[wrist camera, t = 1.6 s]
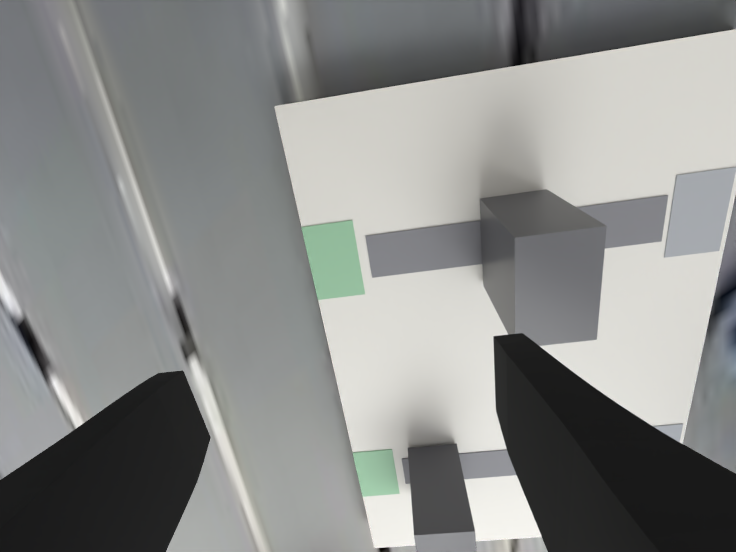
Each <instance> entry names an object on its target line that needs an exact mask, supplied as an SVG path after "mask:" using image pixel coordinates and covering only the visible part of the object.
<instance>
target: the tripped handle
mask: <svg viewBox="0 0 736 552" xmlns="http://www.w3.org/2000/svg"><path fill="white" fill-rule="evenodd" d="M480 219H481V243H482V266H483V286H484V288H485V290H486V292H487V294H488V296H489V298H490V300H491V302H492V304H493V306H494V308H495V310H496V312H497V314H498V315H499V317H500V319H501V321H502V323H503V325H504V327H505V329H506V331H507V333H508V335H509V334H518V333H523V334H525V335H526V336H527V337H528V338H530V339H531V340H532V341H534V342H535V343H536V344H537V345H539V346H543V345H552V344H562V343H571V342H580V341H590V340H597V332H598V321H599V309H600V298H601V286H602V275H603V263H604V252H605V240H606V229H607V226H606V225H604V224H603V223H601V222H600V221H598V220H596V219H595V218H593V217H591V216H590V215H588V214H586V213H585V212H583V211H582V210H580V209H578V208H577V207H575V206H573V205H572V204H570V203H568V202H567V201H565V200H564V199H562V198H560V197H559V196H557V195H555V194H554V193H552V192H550V191H549V190H547V189H544V190H537V191H530V192H523V193H516V194H509V195H501V196H494V197H487V198H480Z"/></svg>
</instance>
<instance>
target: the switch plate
mask: <svg viewBox="0 0 736 552" xmlns="http://www.w3.org/2000/svg"><path fill="white" fill-rule="evenodd" d="M274 107H275V112H276V116H277V121H278V125H279V129H280V134H281V138H282V143H283V147H284V151H285V156H286V160H287V165H288V169H289V173H290V178H291V182H292V187H293V191H294V196H295V200H296V204H297V209H298V213H299V218H300V222H301V226H302V227H301V228H302V232H303V237H304V241H305V245H306V250H307V254H308V259H309V263H310V268H311V272H312V276H313V281H314V285H315V290H316V294H317V298H318V301H319V306H320V310H321V315H322V319H323V324H324V328H325V332H326V337H327V341H328V346H329V350H330V354H331V359H332V363H333V368H334V372H335V377H336V381H337V385H338V390H339V394H340V399H341V403H342V407H343V412H344V416H345V421H346V425H347V429H348V434H349V438H350V443H351V447H352V452H353V457H354V461H355V466H356V470H357V475H358V479H359V483H360V488H361V492H362V497H363V500H364V504H365V509H366V513H367V518H368V522H369V527H370V531H371V535H372V540H373V544H374V548H383V547H398V546H413V545H415V539H414V529H413V515H412V501H411V487H410V473H409V460H408V448H411V447H423V446H434V445H445V444H457V448H458V452H459V457H460V462H461V467H462V471H463V476H464V481H465V486H466V490H467V495H468V500H469V505H470V509H471V514H472V519H473V523H474V528H475V536H476V541H488V540H503V539H518V538H533V537H542V536H541V533H540V531H539V528H538V526H537V524H536V521H535V519H534V516H533V514H532V511H531V509H530V507H529V504H528V502H527V499H526V497H525V494H524V492H523V490H522V487H521V485H520V482H519V480H518V477H517V475H516V472H515V470H514V467H513V465H512V462H511V460H510V457H509V455H508V452H507V448H506V445H505V441H504V438H503V434H502V431H501V427H500V424H499V420H498V416H497V413H496V401H495V371H494V341H493V336H500V335H508V333H507V331H506V329H505V327H504V325H503V323H502V321H501V319H500V317H499V315H498V314H497V312H496V310H495V308H494V306H493V304H492V302H491V300H490V298H489V296H488V294H487V292H486V290H485V288H484V286H483V266H482V243H481V219H480V198H487V197H494V196H501V195H509V194H516V193H523V192H530V191H537V190H544V189H547V190H549V191H550V192H552V193H554V194H555V195H557V196H559V197H560V198H562V199H564V200H565V201H567V202H568V203H570V204H572V205H573V206H575V207H577V208H578V209H580V210H582V211H583V212H585V213H586V214H588V215H590V216H591V217H593V218H595V219H596V220H598V221H600V222H601V223H603V224H604V225H606V226H607V229H606V240H605V252H604V263H603V275H602V286H601V298H600V309H599V321H598V332H597V340H590V341H580V342H571V343H562V344H552V345H543V346H540V347H541V348H543V349H544V350H545V351H546V352H548V353H549V354H550V355H552V356H553V357H554V358H555V359H557V360H558V361H559V362H561V363H562V364H563V365H565V366H566V367H567V368H568V369H570V370H571V371H572V372H574V373H575V374H576V375H578V376H579V377H581V378H582V379H583V380H585V381H586V382H587V383H589V384H590V385H592V386H593V387H594V388H596V389H597V390H599V391H600V392H601V393H603V394H604V395H606V396H607V397H609V398H610V399H612V400H613V401H615V402H616V403H618V404H619V405H620V406H622V407H624V408H625V409H627V410H628V411H630V412H631V413H633V414H634V415H636V416H638V417H639V418H641V419H642V420H644V421H645V422H647V423H648V424H650V425H651V426H653V427H655V428H656V429H658V430H660V431H661V432H663V433H665V434H666V435H668V436H670V437H671V438H673V439H675V440H676V441H678V442H680V443H681V444H683V440H684V435H685V430H686V426H687V421H688V416H689V411H690V407H691V402H692V397H693V393H694V388H695V383H696V379H697V374H698V369H699V364H700V360H701V355H702V350H703V346H704V341H705V336H706V331H707V327H708V322H709V317H710V313H711V308H712V303H713V298H714V294H715V289H716V284H717V280H718V275H719V270H720V266H721V261H722V256H723V251H724V247H725V242H726V237H727V233H728V228H729V223H730V218H731V214H732V209H733V204H734V200H735V195H736V29H734V30H728V31H722V32H716V33H710V34H704V35H698V36H692V37H686V38H680V39H674V40H668V41H662V42H656V43H650V44H644V45H638V46H632V47H626V48H620V49H614V50H608V51H602V52H596V53H590V54H584V55H578V56H572V57H566V58H560V59H554V60H548V61H542V62H536V63H530V64H524V65H518V66H512V67H506V68H500V69H494V70H488V71H482V72H476V73H470V74H464V75H458V76H452V77H446V78H440V79H434V80H428V81H422V82H416V83H410V84H404V85H398V86H392V87H386V88H380V89H374V90H368V91H362V92H356V93H350V94H344V95H338V96H332V97H326V98H320V99H314V100H308V101H302V102H296V103H290V104H284V105H278V106H274Z"/></svg>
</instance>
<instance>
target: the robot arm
mask: <svg viewBox="0 0 736 552" xmlns="http://www.w3.org/2000/svg"><path fill="white" fill-rule="evenodd" d="M493 341H494V371H495V401H496V413H497V416H498V420H499V424H500V427H501V431H502V434H503V438H504V441H505V445H506V448H507V452H508V455H509V457H510V460H511V462H512V465H513V467H514V470H515V472H516V475H517V477H518V480H519V482H520V485H521V487H522V490H523V492H524V494H525V497H526V499H527V502H528V504H529V507H530V509H531V511H532V514H533V516H534V519H535V521H536V524H537V526H538V528H539V531H540V533H541V536H542V538H543V541H544V543H545V546H546V548H547V550H548V552H736V474H735V473H733V472H731V471H730V470H728V469H726V468H724V467H722V466H721V465H719V464H717V463H715V462H713V461H712V460H710V459H708V458H706V457H705V456H703V455H701V454H699V453H697V452H696V451H694V450H692V449H690V448H689V447H687V446H685V445H683V444H681V443H680V442H678V441H676V440H675V439H673V438H671V437H670V436H668V435H666V434H665V433H663V432H661V431H660V430H658V429H656V428H655V427H653V426H651V425H650V424H648V423H647V422H645V421H644V420H642V419H641V418H639V417H638V416H636V415H634V414H633V413H631V412H630V411H628V410H627V409H625V408H624V407H622V406H620V405H619V404H618V403H616V402H615V401H613V400H612V399H610V398H609V397H607V396H606V395H604V394H603V393H601V392H600V391H599V390H597V389H596V388H594V387H593V386H592V385H590V384H589V383H587V382H586V381H585V380H583V379H582V378H581V377H579V376H578V375H576V374H575V373H574V372H572V371H571V370H570V369H568V368H567V367H566V366H565V365H563V364H562V363H561V362H559V361H558V360H557V359H555V358H554V357H553V356H552V355H550V354H549V353H548V352H546V351H545V350H544V349H543V348H541V347H540V346H539V345H537V344H536V343H535V342H534V341H532V340H531V339H530V338H528V337H527V336H526V335H525V334H523V333H518V334H509V335H500V336H493ZM209 441H210V435H209V433H208V430H207V428H206V425H205V423H204V420H203V418H202V415H201V413H200V411H199V408H198V406H197V403H196V401H195V398H194V396H193V394H192V391H191V389H190V386H189V384H188V381H187V379H186V376H185V374H184V372H183V371H175V372H166V373H158V374H156V375H155V376H153V377H151V378H149V379H148V380H146V381H144V382H143V383H141V384H140V385H138V386H137V387H135V388H134V389H132V390H131V391H129V392H128V393H126V394H125V395H123V396H122V397H121V398H119V399H118V400H116V401H115V402H113V403H112V404H111V405H109V406H108V407H106V408H105V409H103V410H102V411H101V412H99V413H98V414H96V415H95V416H94V417H92V418H91V419H89V420H88V421H86V422H85V423H84V424H82V425H81V426H79V427H78V428H77V429H75V430H74V431H72V432H71V433H69V434H68V435H67V436H65V437H64V438H62V439H61V440H59V441H58V442H56V443H55V444H54V445H52V446H51V447H49V448H48V449H46V450H45V451H43V452H42V453H40V454H39V455H37V456H36V457H34V458H33V459H31V460H30V461H28V462H27V463H25V464H24V465H22V466H21V467H19V468H18V469H16V470H15V471H13V472H12V473H10V474H9V475H7V476H6V477H4V478H3V479H1V480H0V552H166V550H167V548H168V545H169V543H170V541H171V539H172V537H173V535H174V532H175V530H176V528H177V526H178V524H179V521H180V519H181V517H182V515H183V512H184V510H185V508H186V506H187V503H188V501H189V499H190V497H191V494H192V492H193V490H194V488H195V485H196V483H197V480H198V477H199V474H200V471H201V468H202V465H203V462H204V459H205V455H206V451H207V448H208V444H209Z"/></svg>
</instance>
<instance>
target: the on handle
mask: <svg viewBox="0 0 736 552" xmlns="http://www.w3.org/2000/svg"><path fill="white" fill-rule="evenodd" d="M408 460H409V473H410V487H411V501H412V515H413V529H414V539H415V545H416V551H417V552H477V551H476V536H475V528H474V523H473V519H472V514H471V509H470V505H469V500H468V495H467V490H466V486H465V481H464V476H463V471H462V467H461V462H460V457H459V452H458V448H457V444H445V445H434V446H423V447H411V448H408Z"/></svg>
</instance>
